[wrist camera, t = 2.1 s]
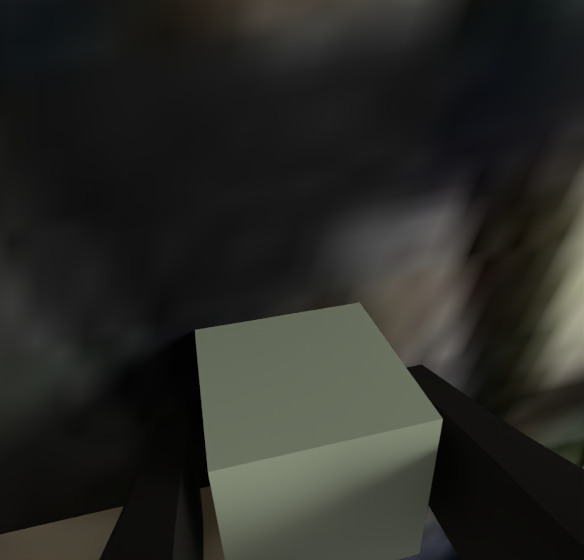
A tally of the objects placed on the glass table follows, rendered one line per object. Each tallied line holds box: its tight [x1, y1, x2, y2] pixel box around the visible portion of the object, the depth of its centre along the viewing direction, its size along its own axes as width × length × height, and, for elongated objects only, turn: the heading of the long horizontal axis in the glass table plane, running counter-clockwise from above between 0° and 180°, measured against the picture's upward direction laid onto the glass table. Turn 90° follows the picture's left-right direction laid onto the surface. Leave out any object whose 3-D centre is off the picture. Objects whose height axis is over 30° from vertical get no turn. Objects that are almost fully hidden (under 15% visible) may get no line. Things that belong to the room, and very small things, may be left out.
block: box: [195, 303, 443, 560], centre depth 10 cm, size 4×4×4 cm
